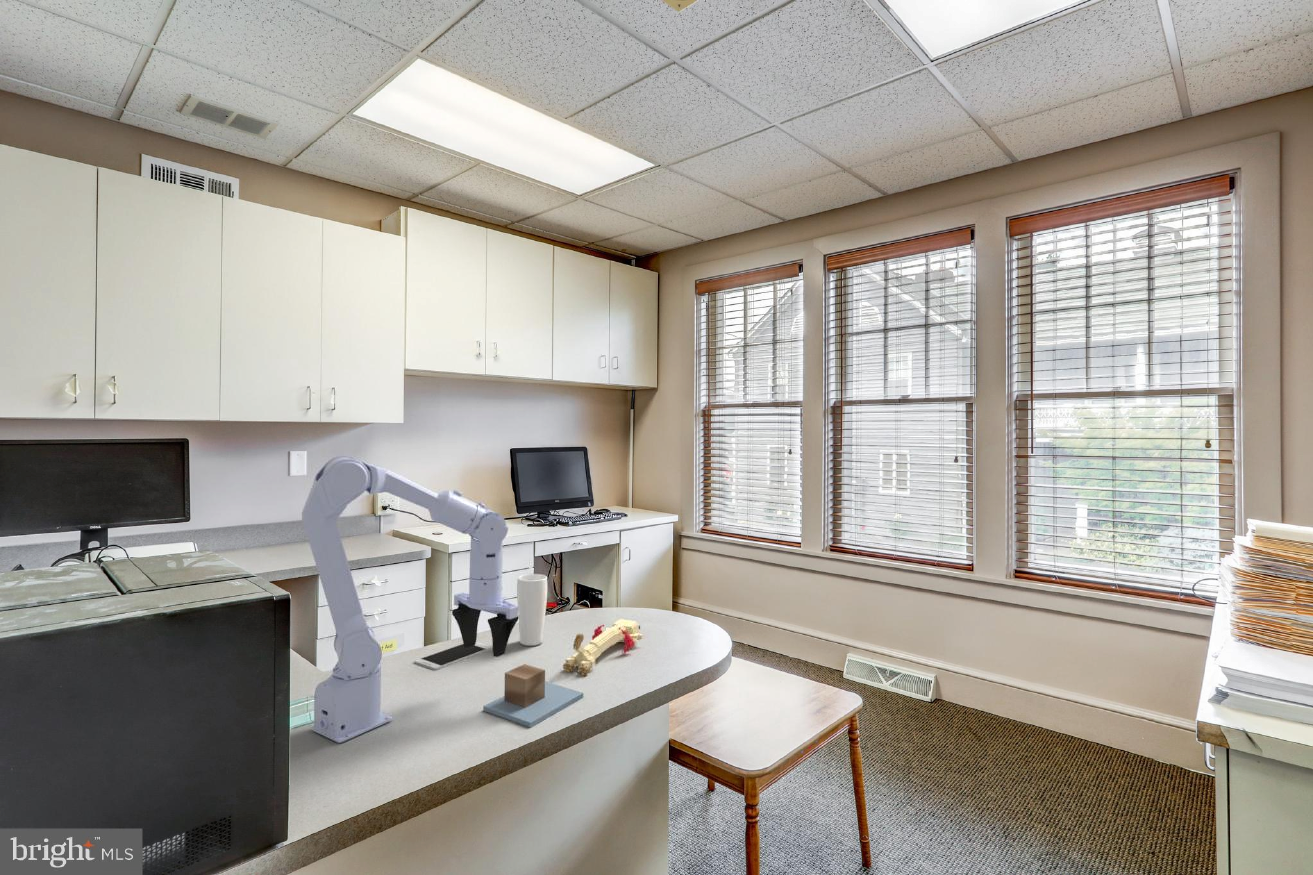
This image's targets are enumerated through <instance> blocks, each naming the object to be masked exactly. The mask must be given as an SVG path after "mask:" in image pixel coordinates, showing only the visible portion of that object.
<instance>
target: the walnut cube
mask: <svg viewBox="0 0 1313 875" xmlns="http://www.w3.org/2000/svg"><path fill="white" fill-rule="evenodd" d="M545 681H546V670H545V669H542V668H540V667H536V666H532V665H530V664H525V663H524V664H521V665H519V666H517V667H515V668H512V669H510V670H509V671H506V672H504V692H503V693H504V695H503V696H504V701H506V702H509V703H512V704H515V705H518V706H521V707H524V708H526V707H528V706H530V705H532V704H534V703H536V702H537V701H539V700H541V699H543V698H545Z"/></svg>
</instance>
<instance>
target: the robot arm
mask: <svg viewBox="0 0 1313 875" xmlns="http://www.w3.org/2000/svg"><path fill="white" fill-rule="evenodd" d="M365 491H366V493H368V494H369V495H374V494H382V493H383V494H384V493H388V494H390V495H393V496H395V497H398V498H400V499H402V500H405V501H407V502H410V503H412V504H414V505H416V506H420V507H421V508H424V509H427V510H428V512H429V515H430V518H431V520H432V521H434V522H436V523H438V524H441V525H444V526H445V527H448V528H450V529H452V530H455V531H457V532H459V533H461V534H464V535H467V534H468V535H469V537H470V551H469V578H468V579H469V582H468V584H469V586H468V593H465V592H461V593H456V594H454V595H453V605H454V606H456V607H457V608H455V609H452V612H451V615H452V616H453V618H454V619H455V621H456V623H457V626H458V628H459V631H460V635H461V639H462V644H463V643H464V647H465V648H468V647H471V646H474V645H475V644H476V642H477V637H478V625H479V620H480V616H481V612H486V613H490V614H494V615H496V616H494V617H491V618H488V619H487V623H488V625H489V629H490V632H491V639H492V641H491V642H492V646H493V649H492V654H493V657H495V658H498V657H500V656H503V655H505V653H506V648H507V646H508V642H509V638H510V636H511V633H512V632H513V629H514V627H515V625H516V623H517V622H519V616H518V605H516V604H513V603H510V602H509V601H507V600H506V599H505V596H504V595H502V594H503V593H502V591H503V590H502V589H503V588H502V586H503V585H502V584H503V580H502V579H503V540H504V539H505V538H506V536H507V534H508V531H509V527H508V526H507V522H506V519H504V517H503V516H502V515H501V514H500V513H497V512H496V511H493V510H490V509H489V508H488V507H486V504H484V503H482V502H479V503H476V502H474V501H472V500H470V499H468V498H465V497H463V493H462V492H461V491H459V490H456V489H454V490H453V491H452V490H451V491H450V490H449V489H448V490H443V491H441V492H434V491H432V490H430V489H428V488H426V487H424V486H422V485H420V484H418V483H417V482H414V481H412V480H410V479H409V478H406V477H404V476H402V475H400V474H398V473H396V472H393V471H392V470H390V469H388V468H385V467H382V466H379V465H375V464H372V463H368V462H366V461H359V460H356V459H355V458H354V457H351V456H347V455H340V456H339V455H338V456H336V457H333V458H331V459H329V460H328V461H327V462H326V463H325V464H324V465H323V466H322V467H321V468H320V470H319V471H318V472H317V473H316V475H315V476H314V480H313V482H312V486H311V488H310V491H309V493H308V496H307V499H306V501H305V503H304V505H303V509H302V512H301V521H302V524H303V526H304V529H305V534H306V536H307V540H308V542H309V546H310V547H309V548H310V549H311V552H312V555H313V556H312V557H313V559H314V563H315V566H316V570H317V573H318V576H319V579H320V583H321V586H322V589H323V592H324V596H325V599H326V601H327V602H326V603H327V605H328V609H329V612H330V616H331V618H332V619H331V620H332V622H333V625H334V628H335V636H334V640H333V649H334V651H335V653H336V655H337V659H338V660H337V662H336V663H335V665H334V667H333V668H332V673H331V675H330V676H329V677H327V678H325V680H323V681H321V682H319V683H318V684H316V687H315V689H314V693H313V694H314V698H313V700H314V702H313V703H314V704H313V705H314V706H313V708H314V709H313V713H314V714H313V715H314V716H313V726H311V728H310V729H312V730H311V731H313V732H315V733H317V734H319V735H321V736H324V737H325V738H328V739H330V740H332V741H334V742H336V743H338V744H340V743H344V742H346V741H348V740H350V739H353V738H356V737H358V736H360V735H361V734H364V733H366V732H368V731H371V730H372V729H376V728H378V727H380V726H382V725H384V724H387V723H388V722H391V721H392V720H393V717H392V716H391V715H388V714H385V713H383V712H382V711H381V710H382V709H381V708H382V707H381V706H382V705H381V699H382V696H381V694H382V691H381V690H382V689H381V688H382V686H381V684H382V678H381V677H382V663H381V661H382V658H383V651H382V647H381V645H380V643H379V642H378V641H377V638H376V637H375V633H374V631H373V629H372V627H370V626H369V625H368V624H367V621H366V618H365V615H364V612H363V609H362V605H361V602H360V598H359V596H358V592H357V589H356V585H355V582H354V578H353V575H352V571H351V568H350V564H349V561H348V557H347V555H346V554H347V553H346V552H345V548H344V547H345V546H344V545H343V540H342V536H341V533H340V529H339V527H338V523H337V520H338V519H339V518H340V517H341V515H342V514H343V512H344V511H345V509H346V508H347V507H348V506H349V505H350V504H351V503H352V502H353V501H355V500H357V498H359V497H360V496H362V495H363V494H364V493H365Z"/></svg>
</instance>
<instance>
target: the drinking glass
mask: <svg viewBox="0 0 1313 875" xmlns="http://www.w3.org/2000/svg"><path fill="white" fill-rule="evenodd" d="M516 582H517V583H516V598H517V600H516V601H517V602H516V603H517V606H518V626H519V627H518V629H519V643H520V644H521V645H522V646H525V647H526V646H527V647H533V646H538V645H541V644H542V643H543V642H544V638H545V637H544V636H545V635H544V634H545V633H544V631H545V630H544V629H545V619H546V610H547V601H548V576H547V575H545V574H540V573H527V574H522V575H518V577H517V581H516Z"/></svg>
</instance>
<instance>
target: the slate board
mask: <svg viewBox="0 0 1313 875" xmlns="http://www.w3.org/2000/svg"><path fill="white" fill-rule="evenodd" d="M583 698H584V692H581V691H579V690H575V689H573V688H569V687H565V686H562V685H559V684H556V683H553V682H550V681H549V682H548V681H546V680H545V698H543V699H541V700H539V701H537V702H536V703H534V704H532V705H530V706H528V707H526V708H524V707H521V706H518V705H515V704H512V703H509V702H506V701H504V695H503V696H500V697H499V698H497V699H495V700H493V701H491V702H488V703H487V704H485V705H483V709H482V710H483V712H487V713H488V714H492V715H495V716H497V717H500V718H502V719H505V720H509V721H510V722H514V723H516V724H519V725H523V726H524V727H528V728H532V727H534V726H536V725H537V724H540V723H542V722H543V721H544V720H547V719H548V718H550V717H552V716H553V715H555V714H556V713H558V712H560V711H562V710H564V709H566V708H567V707H569V706H571V705H572V704H574V703H576V702H577V701H579V700H581V699H583Z"/></svg>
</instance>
